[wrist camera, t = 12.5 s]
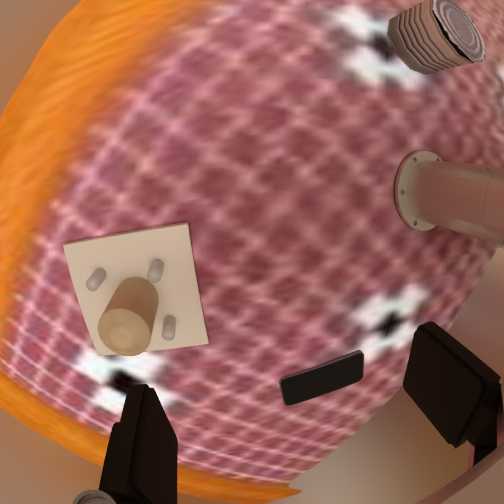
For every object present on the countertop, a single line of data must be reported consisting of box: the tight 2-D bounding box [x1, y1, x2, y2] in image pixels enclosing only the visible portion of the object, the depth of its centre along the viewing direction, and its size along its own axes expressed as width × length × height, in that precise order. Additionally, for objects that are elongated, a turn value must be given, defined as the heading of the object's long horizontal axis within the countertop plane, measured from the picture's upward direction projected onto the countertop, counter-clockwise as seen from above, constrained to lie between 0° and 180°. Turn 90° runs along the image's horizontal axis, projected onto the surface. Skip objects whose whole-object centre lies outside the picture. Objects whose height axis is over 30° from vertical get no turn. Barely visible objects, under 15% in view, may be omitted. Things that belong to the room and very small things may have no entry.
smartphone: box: [279, 350, 364, 406], centre depth 45 cm, size 7×1×15 cm
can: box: [387, 0, 485, 74], centre depth 26 cm, size 11×11×12 cm
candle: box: [98, 277, 158, 356], centre depth 29 cm, size 6×6×10 cm
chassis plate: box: [63, 222, 209, 356], centre depth 33 cm, size 16×16×5 cm
